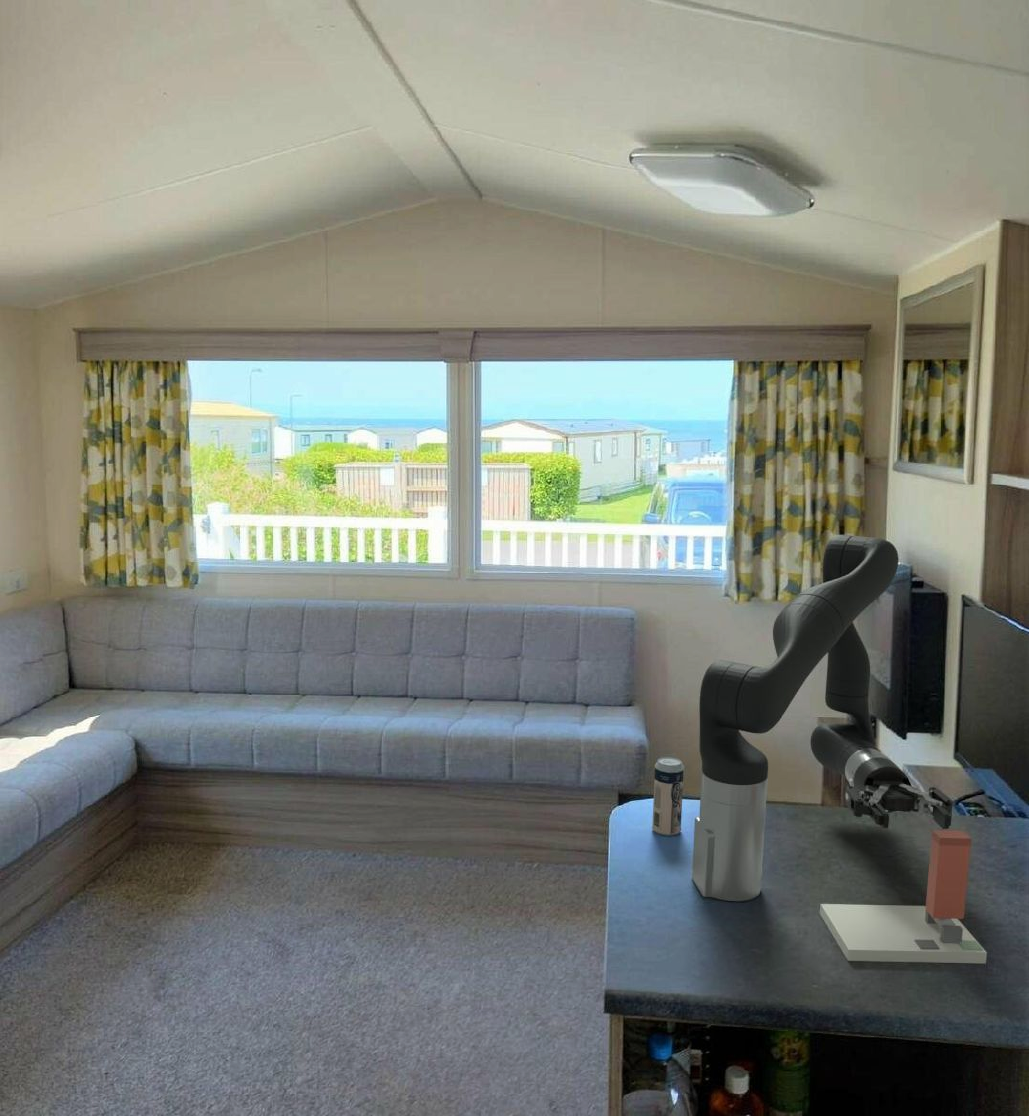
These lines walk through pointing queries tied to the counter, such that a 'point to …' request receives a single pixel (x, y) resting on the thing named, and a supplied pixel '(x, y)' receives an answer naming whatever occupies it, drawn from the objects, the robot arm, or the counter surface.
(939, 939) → the breaker base
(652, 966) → the counter surface
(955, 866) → the lever
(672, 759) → the beer can
